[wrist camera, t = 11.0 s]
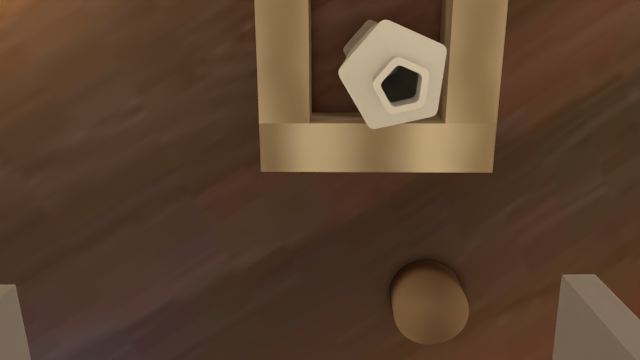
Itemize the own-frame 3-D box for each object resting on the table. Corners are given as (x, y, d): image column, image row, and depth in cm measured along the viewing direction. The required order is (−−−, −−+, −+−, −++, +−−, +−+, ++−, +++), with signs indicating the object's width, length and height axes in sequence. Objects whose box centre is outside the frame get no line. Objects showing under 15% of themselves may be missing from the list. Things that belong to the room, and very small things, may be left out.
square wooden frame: (267, 156, 38) (261, 171, 34) (259, -71, 33) (251, -79, 30) (478, 157, 37) (492, 172, 34) (497, -73, 33) (515, -82, 30)
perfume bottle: (404, 5, 34) (453, 7, 20) (416, 75, 36) (471, 125, 21) (331, 22, 35) (328, 36, 21) (346, 91, 36) (353, 150, 22)
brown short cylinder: (388, 320, 41) (392, 344, 38) (390, 258, 40) (394, 278, 37) (457, 321, 41) (466, 344, 38) (461, 259, 40) (471, 278, 37)
